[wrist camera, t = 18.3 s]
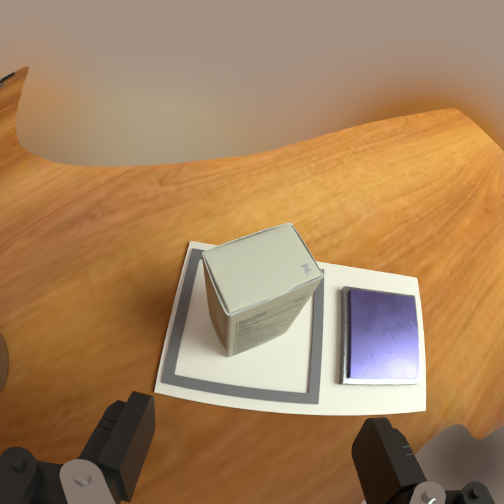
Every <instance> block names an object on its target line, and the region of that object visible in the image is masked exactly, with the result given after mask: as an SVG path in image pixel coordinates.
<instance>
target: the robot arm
mask: <svg viewBox="0 0 504 504" xmlns="http://www.w3.org/2000/svg"><path fill="white" fill-rule="evenodd" d="M7 370H8V354H7V348H6V344H5V341H4V339H3V337H2V335H1V334H0V391H1V389H2V387H3V385H4V383H5V380H6V377H7ZM154 430H155V409H154V397H153V396H151V395H147V394H143V393H140V392H136V391H133V392H132V393H131V395H130V397H129V399H128V401H127V403H126V402H122V401H119V400H117V401H116V402H115V403H113V404H112V405H110V406H109V407H107V409H106V411H105V413H104V414H103V416H102V419H100V421H99V423H98V425H97V427H96V428H95V430H94V432H93V433H92V435H91V437H90V439H89V440H88V442H87V444H86V446H85V447H84V449H83V451H82V453H81V455H80V456H79V457H78V458H77V459H75V460H71V461H68V462H67V463H65V464H53V463H47V462H42V461H37V460H35V458H34V456H33V455H32V454H31V453H30V452H29V451H27V450H26V449H23V448H20V447H12V448H8V449H6V450H5V451H4V452H3V453H2V454H1V456H0V504H120V502H121V500H123V501H126V502H130V501H131V498H132V495H133V492H134V489H135V486H136V484H137V481H138V478H139V475H140V472H141V469H142V466H143V464H144V461H145V458H146V455H147V452H148V449H149V447H150V444H151V441H152V438H153V435H154ZM352 458H353V461H354V464H355V467H356V470H357V474H358V477H359V480H360V483H361V487H362V490H363V493H364V496H365V500H366V503H367V504H495V503H494V501H493V499H492V497H491V495H490V493H489V491H488V490H487V487H486V486H485V485H483V484H482V483H480V482H470V483H468V484H466V485H465V487H464V488H463V489H462V490H455V491H444V489H443V488H442V487H441V486H440V485H439V484H437V483H434V482H428V481H427V480H426V478H425V476H424V474H423V472H422V470H421V467H420V466H419V463H418V462H417V460H416V458H415V456H414V455H413V452H412V450H411V448H410V447H409V444H408V442H407V440H406V438H405V436H404V435H403V434H402V433H400V432H399V431H398V430H397V429H396V428H395V429H393V428H392V426H391V424H390V422H389V420H388V419H387V418H386V417H381V418H368V419H367V420H366V421H365V422H364V424H363V426H362V428H361V430H360V432H359V433H358V435H357V437H356V439H355V441H354V442H353V445H352Z"/></svg>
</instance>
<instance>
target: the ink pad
mask: <svg viewBox="0 0 504 504" xmlns="http://www.w3.org/2000/svg"><path fill="white" fill-rule="evenodd" d="M419 383H421V368H420V345H419V331H418V319H417V309H416V300H415V295H407V294H400V293H392V292H385V291H377V290H370V289H363V288H356V287H349V286H344V287H343V288H342V289H341V352H340V377H339V385H416V384H419Z"/></svg>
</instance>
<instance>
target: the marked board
mask: <svg viewBox="0 0 504 504" xmlns="http://www.w3.org/2000/svg"><path fill="white" fill-rule="evenodd" d="M216 246H217V245H211V244H205V243H199V242H193V241H190V244H189V247H188V251H187V254H186V258H185V262H184V265H183V269H182V273H181V277H180V281H179V284H178V288H177V292H176V296H175V300H174V304H173V308H172V313H171V317H170V321H169V325H168V329H167V334H166V338H165V343H164V347H163V352H162V356H161V361H160V366H159V371H158V376H157V380H156V386H155V391H154V392H156V393H160V394H164V395H168V396H173V397H177V398H182V399H187V400H192V401H197V402H202V403H208V404H214V405H220V406H227V407H233V408H241V409H248V410H257V411H266V412H277V413H290V414H307V415H380V414H397V413H409V412H419V411H426V366H425V346H424V332H423V321H422V311H421V303H420V295H419V287H418V281H417V278H415V277H409V276H403V275H397V274H390V273H384V272H378V271H372V270H366V269H360V268H353V267H347V266H341V265H335V264H329V263H323V262H317V264H318V266H319V268H320V269H321V271H322V273H323V275H324V277H323V279H322V280H321V282H320V283H319V285H318V286H317V288H316V289H315V291H314V292H313V294H312V295H311V297H310V298H309V300H308V301H307V303H306V304H305V306H304V307H303V309H302V310H301V312H300V313H299V314H298V316H297V317H296V319H295V320H294V322H293V323H292V325H291V326H290V328H289V329H288V330H287V332H286V333H285V334H283V335H281V336H279V337H277V338H275V339H273V340H270V341H268V342H266V343H264V344H261V345H259V346H257V347H255V348H252V349H250V350H247V351H245V352H242V353H240V354H237V355H234V356H231V357H226V356H225V354H224V352H223V350H222V347H221V345H220V343H219V340H218V338H217V336H216V333H215V331H214V328H213V326H212V323H211V320H210V316H209V308H208V301H207V294H206V286H205V278H204V269H203V261H202V252H203V251H206V250H208V249H211V248H214V247H216ZM344 286H349V287H356V288H363V289H370V290H377V291H385V292H392V293H400V294H407V295H415V300H416V309H417V319H418V331H419V345H420V368H421V383H419V384H416V385H339V377H340V352H341V289H342V288H343V287H344Z"/></svg>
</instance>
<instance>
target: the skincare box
mask: <svg viewBox="0 0 504 504" xmlns="http://www.w3.org/2000/svg"><path fill="white" fill-rule="evenodd" d="M202 261H203V269H204V278H205V286H206V294H207V301H208V308H209V316H210V320H211V323H212V326H213V328H214V331H215V333H216V336H217V338H218V340H219V343H220V345H221V347H222V350H223V352H224V354H225V356H226V357H231V356H234V355H237V354H240V353H242V352H245V351H247V350H250V349H252V348H255V347H257V346H259V345H261V344H264V343H266V342H268V341H270V340H273V339H275V338H277V337H279V336H281V335H283V334H285V333H286V332H287V330H288V329H289V328H290V326H291V325H292V323H293V322H294V320H295V319H296V317H297V316H298V314H299V313H300V312H301V310H302V309H303V307H304V306H305V304H306V303H307V301H308V300H309V298H310V297H311V295H312V294H313V292H314V291H315V289H316V288H317V286H318V285H319V283H320V282H321V280H322V279H323V277H324V275H323V273H322V271H321V269H320V268H319V266H318V264H317V262H316V261H315V259H314V257H313V256H312V254H311V252H310V251H309V249H308V248H307V246H306V244H305V243H304V241H303V239H302V238H301V236H300V235H299V233H298V232H297V231H296V229H295V228H294V226H293V225H292V223H286V224H282V225H279V226H275V227H272V228H268V229H265V230H262V231H259V232H256V233H253V234H250V235H247V236H244V237H241V238H238V239H235V240H233V241H230V242H227V243H224V244H222V245H219V246H216V247H214V248H211V249H208V250H206V251H203V252H202Z"/></svg>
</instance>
